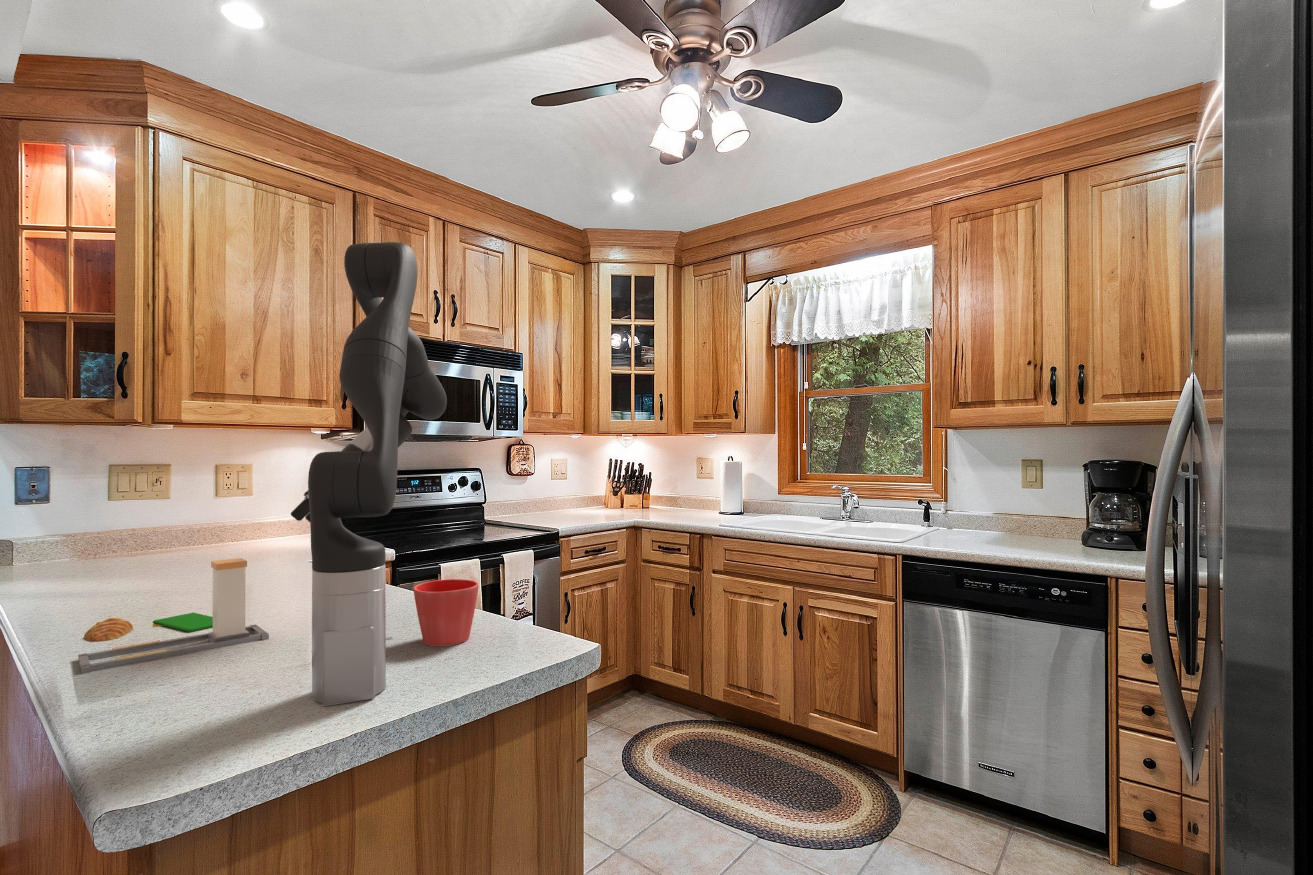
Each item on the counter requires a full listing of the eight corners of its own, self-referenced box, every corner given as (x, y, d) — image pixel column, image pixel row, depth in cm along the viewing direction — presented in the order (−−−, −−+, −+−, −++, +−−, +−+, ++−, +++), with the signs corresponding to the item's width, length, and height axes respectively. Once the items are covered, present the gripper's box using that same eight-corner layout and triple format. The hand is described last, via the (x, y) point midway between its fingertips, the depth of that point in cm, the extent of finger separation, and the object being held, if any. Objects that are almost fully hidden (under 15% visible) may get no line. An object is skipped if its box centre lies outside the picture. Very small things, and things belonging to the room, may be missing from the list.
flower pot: (482, 644, 110) (482, 587, 111) (414, 652, 106) (414, 593, 107) (475, 628, 120) (475, 576, 121) (413, 635, 116) (412, 581, 117)
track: (255, 636, 117) (255, 623, 117) (268, 646, 110) (268, 632, 110) (78, 668, 100) (78, 653, 100) (81, 683, 94) (81, 666, 94)
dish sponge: (188, 643, 115) (189, 629, 115) (151, 633, 122) (151, 620, 122) (231, 633, 121) (231, 620, 121) (193, 624, 128) (193, 612, 128)
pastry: (129, 647, 112) (129, 625, 112) (78, 655, 108) (77, 632, 108) (134, 634, 120) (133, 614, 120) (85, 641, 116) (85, 620, 116)
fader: (242, 633, 114) (242, 557, 114) (249, 639, 110) (249, 560, 110) (208, 639, 110) (208, 561, 111) (214, 645, 107) (214, 564, 107)
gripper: (337, 442, 130) (273, 504, 122) (365, 442, 120) (298, 509, 112) (364, 467, 134) (304, 529, 125) (394, 469, 124) (331, 536, 115)
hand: (301, 519), depth 119 cm, fingers open, 8 cm apart
